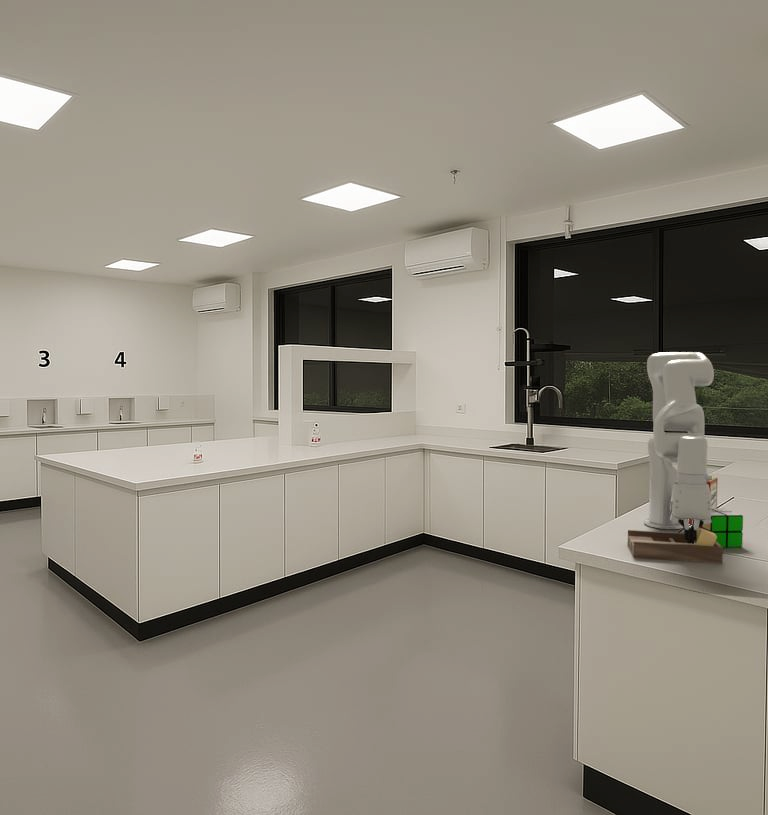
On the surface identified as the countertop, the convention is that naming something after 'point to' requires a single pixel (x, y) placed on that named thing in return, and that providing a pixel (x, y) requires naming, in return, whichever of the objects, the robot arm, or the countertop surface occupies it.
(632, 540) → the box
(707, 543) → the block
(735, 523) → the puzzle cube
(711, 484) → the baking soda box
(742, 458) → the countertop surface
